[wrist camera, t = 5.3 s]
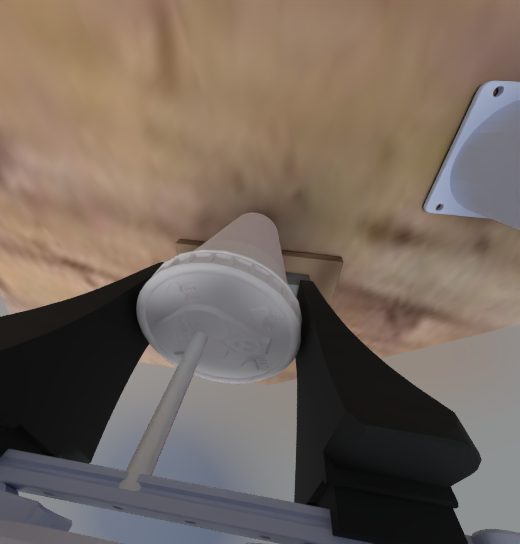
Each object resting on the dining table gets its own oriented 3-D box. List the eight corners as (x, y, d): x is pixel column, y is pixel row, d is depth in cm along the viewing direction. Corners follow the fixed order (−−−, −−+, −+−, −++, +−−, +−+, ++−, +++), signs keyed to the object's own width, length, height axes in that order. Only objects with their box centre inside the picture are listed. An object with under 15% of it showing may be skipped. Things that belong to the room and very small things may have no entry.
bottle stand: (341, 257, 21) (348, 273, 18) (312, 351, 28) (314, 372, 26) (179, 239, 22) (165, 252, 19) (193, 335, 29) (184, 353, 27)
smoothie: (212, 185, 15) (-111, 384, 3) (306, 200, 14) (374, 484, 3) (212, 265, 18) (64, 505, 6) (287, 278, 18) (280, 553, 6)
